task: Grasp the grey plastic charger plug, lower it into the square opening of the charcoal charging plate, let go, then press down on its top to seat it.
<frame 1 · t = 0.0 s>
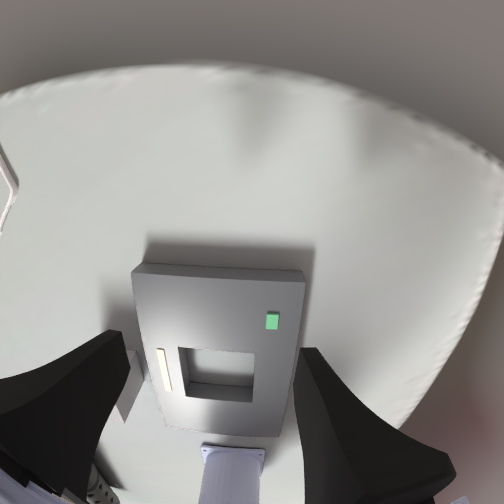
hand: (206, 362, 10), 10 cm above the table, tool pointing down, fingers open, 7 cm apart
charging plate: (220, 362, 22), on the table
muzzle brake: (94, 465, 35), on the table
charger plug: (122, 363, 23), on the table
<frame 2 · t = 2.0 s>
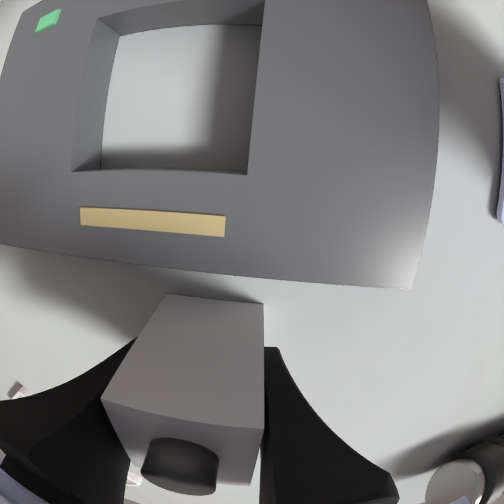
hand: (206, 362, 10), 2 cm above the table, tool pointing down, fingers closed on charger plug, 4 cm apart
charging plate: (175, 90, 8), on the table
muzzle brake: (493, 434, 18), on the table
charger plug: (212, 338, 11), on the table, touching gripper
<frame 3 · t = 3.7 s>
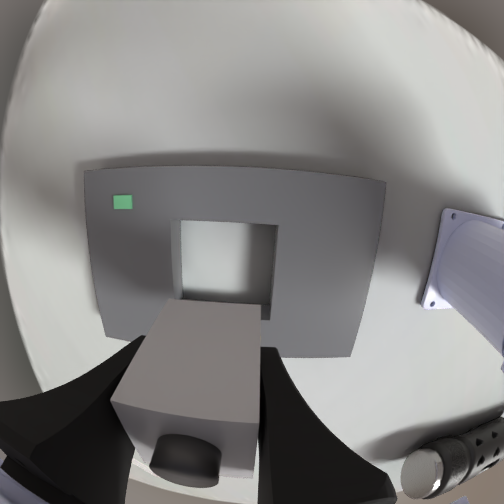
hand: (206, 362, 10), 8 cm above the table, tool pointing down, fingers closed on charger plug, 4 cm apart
charging plate: (226, 261, 18), on the table
muzzle brake: (463, 430, 26), on the table
charger plug: (214, 339, 12), point 6 cm above the table, touching gripper
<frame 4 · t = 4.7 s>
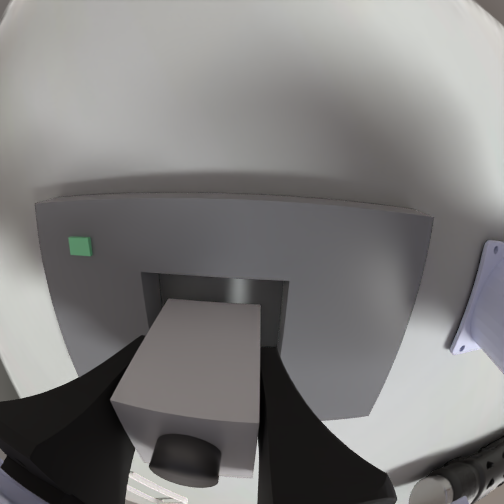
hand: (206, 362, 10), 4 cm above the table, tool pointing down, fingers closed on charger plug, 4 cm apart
charging plate: (219, 316, 13), on the table
muzzle brake: (473, 450, 22), on the table
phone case: (130, 474, 23), on the table
charger plug: (214, 339, 12), point 1 cm above the table, touching gripper
when the fingers open (3 cm above the table, at t = 5.3 s): charger plug stays where it is, resting in charging plate.
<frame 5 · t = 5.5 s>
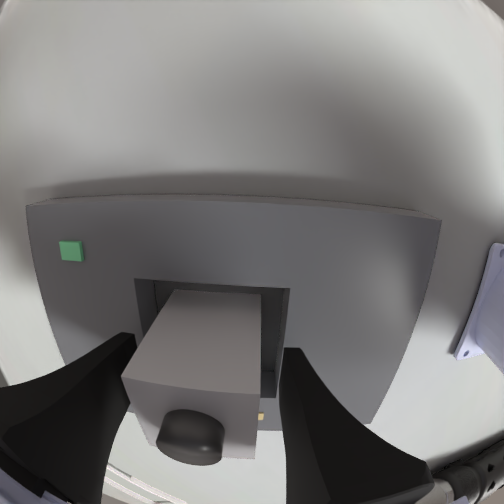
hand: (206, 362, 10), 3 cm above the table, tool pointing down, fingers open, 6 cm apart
charging plate: (216, 323, 13), on the table
muzzle brake: (474, 453, 21), on the table
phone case: (129, 478, 22), on the table
charger plug: (217, 328, 13), resting in charging plate
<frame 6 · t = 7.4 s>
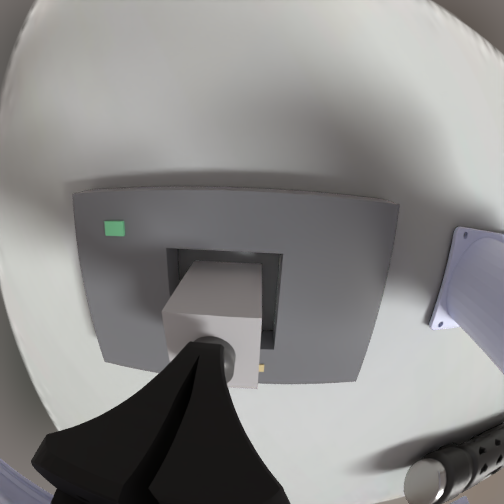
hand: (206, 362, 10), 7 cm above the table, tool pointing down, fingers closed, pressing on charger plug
charging plate: (227, 287, 16), on the table
muzzle brake: (466, 438, 25), on the table
charger plug: (227, 292, 17), resting in charging plate, touching gripper
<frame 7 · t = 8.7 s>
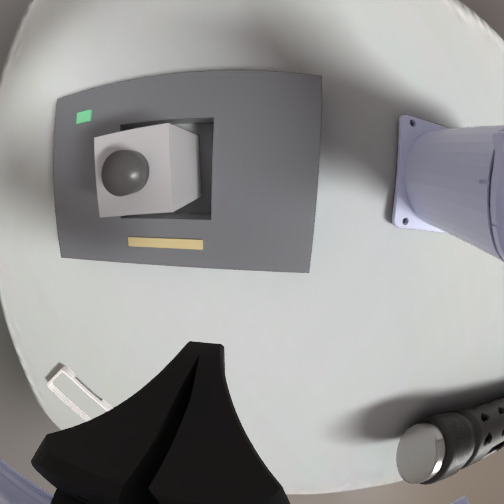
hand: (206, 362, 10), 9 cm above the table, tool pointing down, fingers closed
charging plate: (172, 168, 17), on the table
muzzle brake: (465, 408, 25), on the table
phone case: (101, 409, 26), on the table
charger plug: (170, 168, 17), resting in charging plate
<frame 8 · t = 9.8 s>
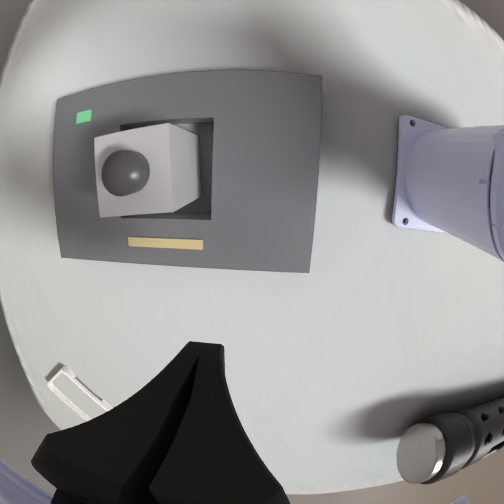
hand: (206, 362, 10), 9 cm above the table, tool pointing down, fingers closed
charging plate: (172, 168, 17), on the table
muzzle brake: (465, 408, 25), on the table
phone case: (101, 409, 26), on the table
charger plug: (170, 168, 17), resting in charging plate
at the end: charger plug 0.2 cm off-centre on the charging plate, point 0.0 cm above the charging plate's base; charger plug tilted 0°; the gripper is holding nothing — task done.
